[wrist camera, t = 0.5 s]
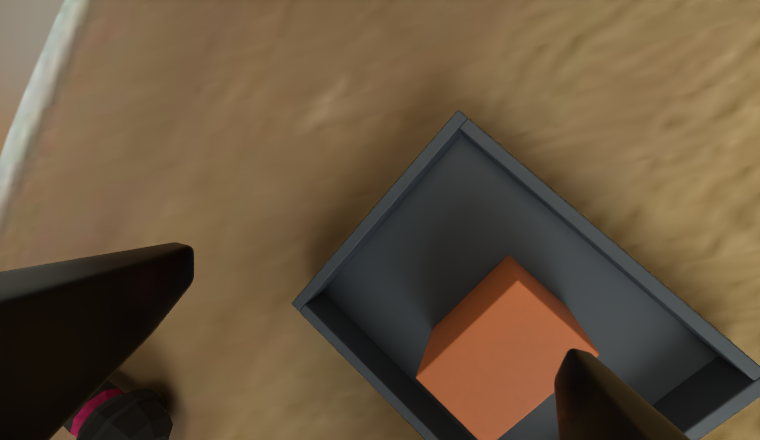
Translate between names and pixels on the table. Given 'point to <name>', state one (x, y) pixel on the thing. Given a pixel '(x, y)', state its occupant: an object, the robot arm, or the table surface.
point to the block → (500, 351)
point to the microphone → (121, 416)
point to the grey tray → (541, 259)
